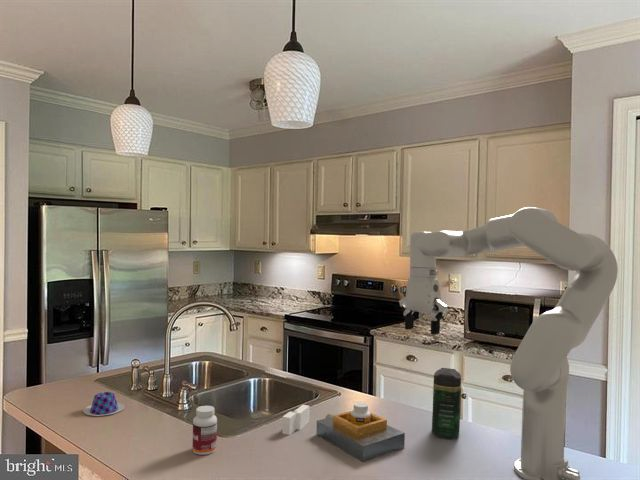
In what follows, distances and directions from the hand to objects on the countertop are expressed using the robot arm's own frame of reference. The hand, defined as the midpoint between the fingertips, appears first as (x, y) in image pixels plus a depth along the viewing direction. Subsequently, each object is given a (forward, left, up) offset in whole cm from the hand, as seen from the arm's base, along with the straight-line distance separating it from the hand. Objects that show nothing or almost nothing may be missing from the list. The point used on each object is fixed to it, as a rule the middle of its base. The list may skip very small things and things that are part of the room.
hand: (421, 331), depth 141 cm
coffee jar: (-5, -6, -30) cm, 31 cm away
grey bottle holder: (+7, +19, -30) cm, 36 cm away
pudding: (+67, +72, -30) cm, 103 cm away
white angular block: (+23, +29, -30) cm, 48 cm away
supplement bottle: (+5, +19, -30) cm, 36 cm away
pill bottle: (+23, +57, -30) cm, 68 cm away
